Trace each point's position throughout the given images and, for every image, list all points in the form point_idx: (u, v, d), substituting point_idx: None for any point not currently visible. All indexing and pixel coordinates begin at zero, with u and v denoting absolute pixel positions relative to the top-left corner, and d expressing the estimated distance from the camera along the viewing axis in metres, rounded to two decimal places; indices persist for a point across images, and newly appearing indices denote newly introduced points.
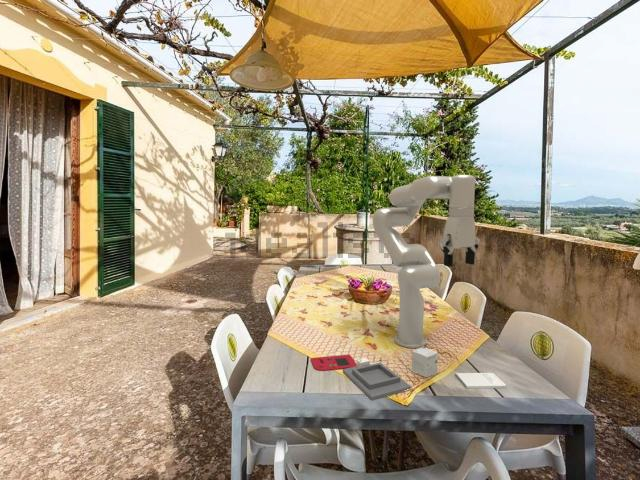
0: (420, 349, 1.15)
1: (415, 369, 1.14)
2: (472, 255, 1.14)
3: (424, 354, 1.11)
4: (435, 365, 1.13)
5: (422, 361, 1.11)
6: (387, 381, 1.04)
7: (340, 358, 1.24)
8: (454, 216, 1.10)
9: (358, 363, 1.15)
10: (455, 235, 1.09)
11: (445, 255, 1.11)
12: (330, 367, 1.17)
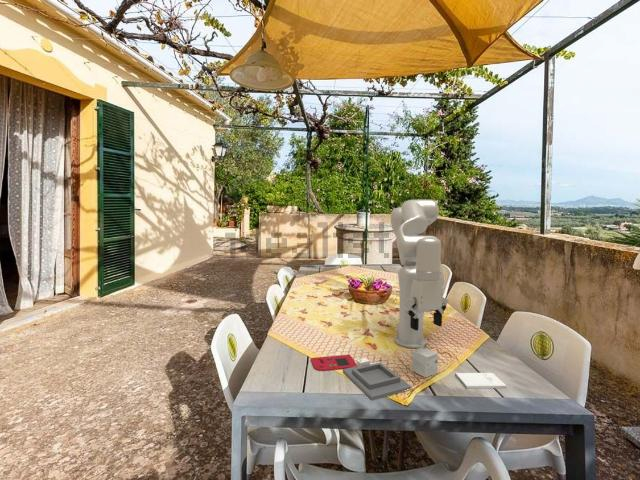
0: (420, 349, 1.15)
1: (415, 369, 1.14)
2: (439, 317, 1.13)
3: (424, 354, 1.11)
4: (435, 365, 1.13)
5: (422, 361, 1.11)
6: (387, 381, 1.04)
7: (340, 358, 1.24)
8: (420, 280, 1.09)
9: (358, 363, 1.15)
10: (420, 299, 1.08)
11: (411, 318, 1.10)
12: (330, 367, 1.17)
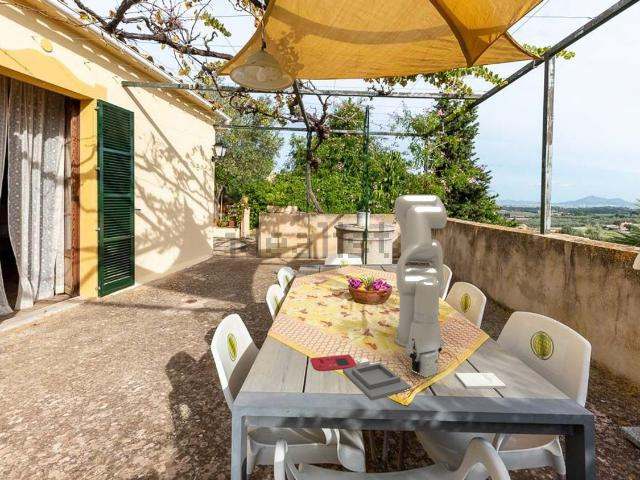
0: None
1: None
2: None
3: (424, 354, 1.11)
4: (435, 365, 1.13)
5: (422, 361, 1.11)
6: (387, 381, 1.04)
7: (340, 358, 1.24)
8: (418, 322, 1.11)
9: (358, 363, 1.15)
10: (419, 341, 1.10)
11: (412, 361, 1.12)
12: (330, 367, 1.17)
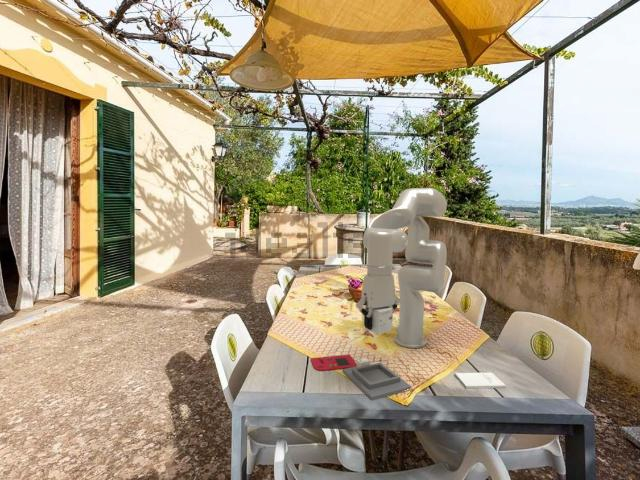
0: None
1: None
2: None
3: (377, 309, 1.04)
4: (389, 322, 1.06)
5: (374, 317, 1.04)
6: (387, 381, 1.04)
7: (340, 358, 1.24)
8: (370, 275, 1.03)
9: (358, 363, 1.15)
10: (370, 295, 1.03)
11: (365, 317, 1.05)
12: (330, 367, 1.17)
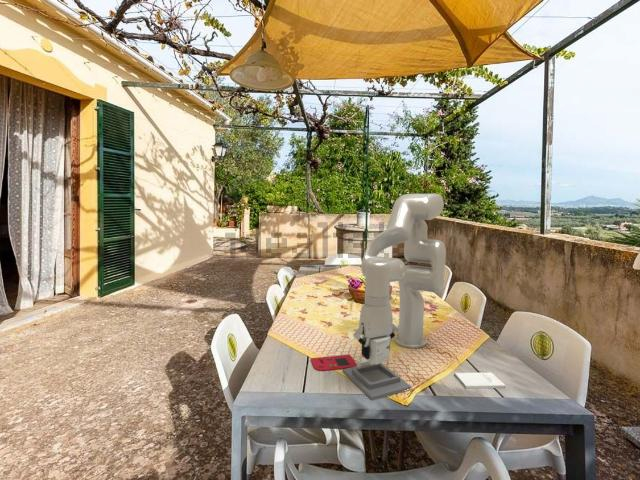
0: None
1: None
2: None
3: (374, 339, 1.05)
4: (386, 351, 1.06)
5: (372, 347, 1.05)
6: (387, 381, 1.04)
7: (340, 358, 1.24)
8: (368, 305, 1.04)
9: (358, 363, 1.15)
10: (368, 326, 1.03)
11: (362, 346, 1.06)
12: (330, 367, 1.17)
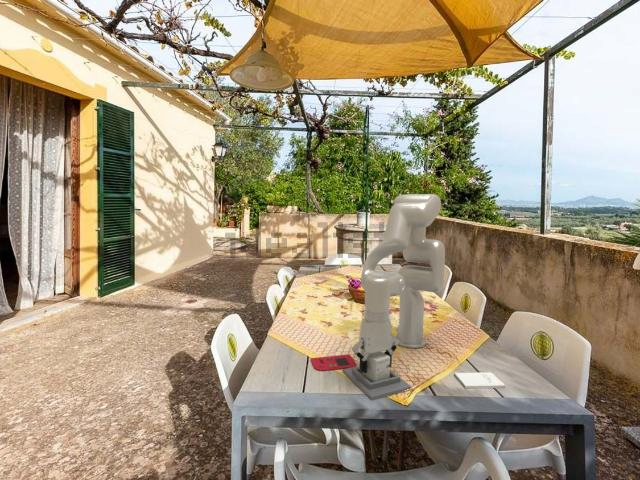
0: (373, 353, 1.10)
1: (366, 373, 1.08)
2: None
3: (374, 358, 1.06)
4: (387, 370, 1.07)
5: (372, 365, 1.06)
6: (387, 381, 1.04)
7: (340, 357, 1.24)
8: (367, 320, 1.05)
9: (358, 363, 1.15)
10: (368, 341, 1.04)
11: (360, 360, 1.06)
12: (330, 367, 1.17)
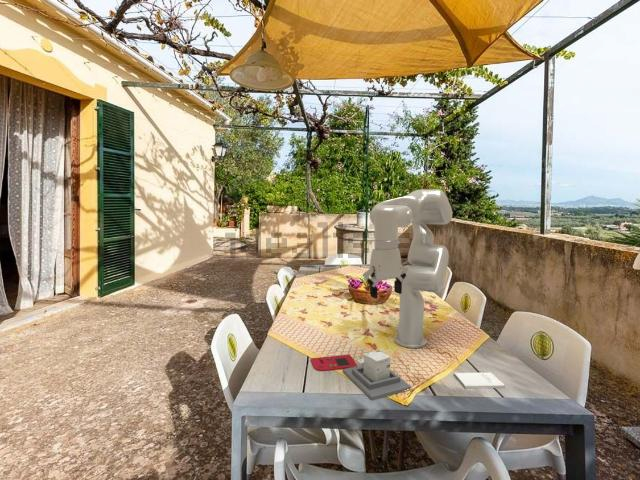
0: (373, 353, 1.10)
1: (366, 373, 1.08)
2: (399, 285, 1.15)
3: (374, 358, 1.06)
4: (387, 370, 1.07)
5: (372, 365, 1.06)
6: (387, 381, 1.04)
7: (340, 358, 1.24)
8: (377, 249, 1.10)
9: (358, 363, 1.15)
10: (378, 268, 1.10)
11: (370, 287, 1.12)
12: (330, 367, 1.17)
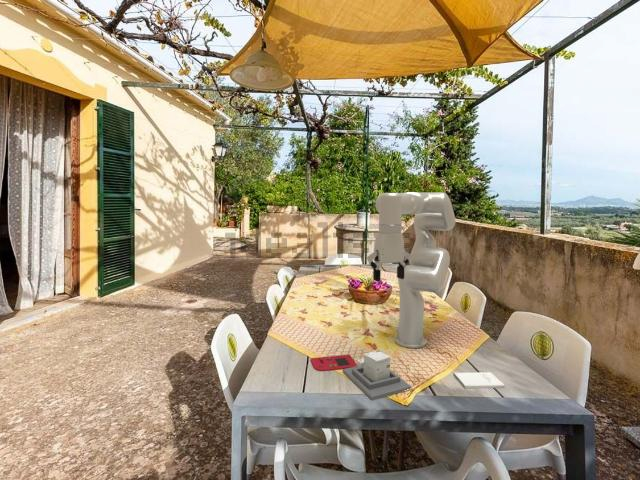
0: (373, 353, 1.10)
1: (366, 373, 1.08)
2: (402, 270, 1.18)
3: (374, 358, 1.06)
4: (387, 370, 1.07)
5: (372, 365, 1.06)
6: (387, 381, 1.04)
7: (340, 358, 1.24)
8: (382, 233, 1.13)
9: (358, 363, 1.15)
10: (382, 251, 1.13)
11: (374, 270, 1.15)
12: (330, 367, 1.17)
